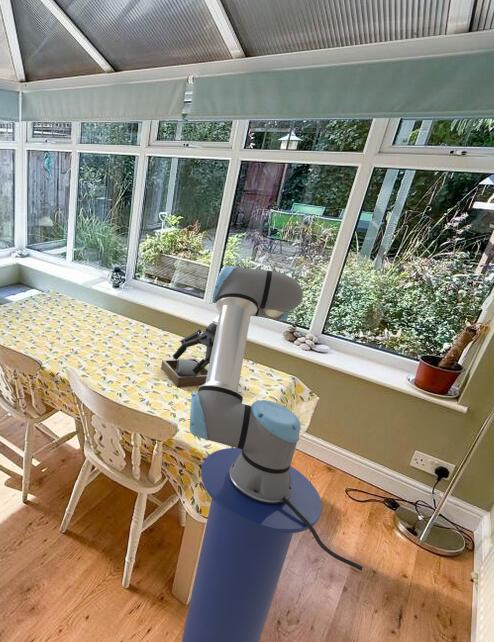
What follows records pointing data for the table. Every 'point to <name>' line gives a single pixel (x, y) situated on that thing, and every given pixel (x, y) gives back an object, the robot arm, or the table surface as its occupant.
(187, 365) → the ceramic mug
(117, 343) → the table surface
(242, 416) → the robot arm
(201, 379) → the walnut holder
